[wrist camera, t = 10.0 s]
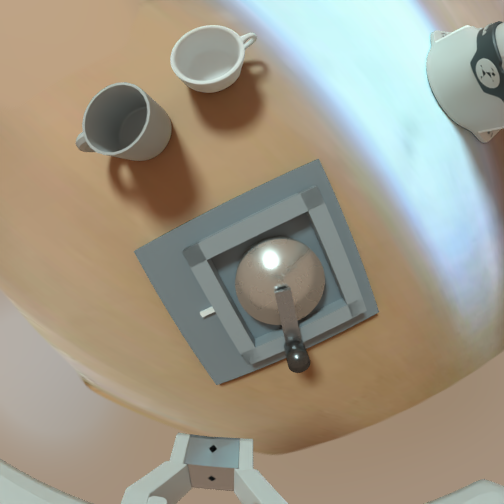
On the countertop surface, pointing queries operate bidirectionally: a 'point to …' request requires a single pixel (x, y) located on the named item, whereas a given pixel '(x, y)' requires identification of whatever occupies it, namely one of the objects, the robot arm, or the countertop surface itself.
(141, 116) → the cup
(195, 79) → the teacup
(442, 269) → the countertop surface
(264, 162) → the countertop surface
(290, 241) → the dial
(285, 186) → the panel
